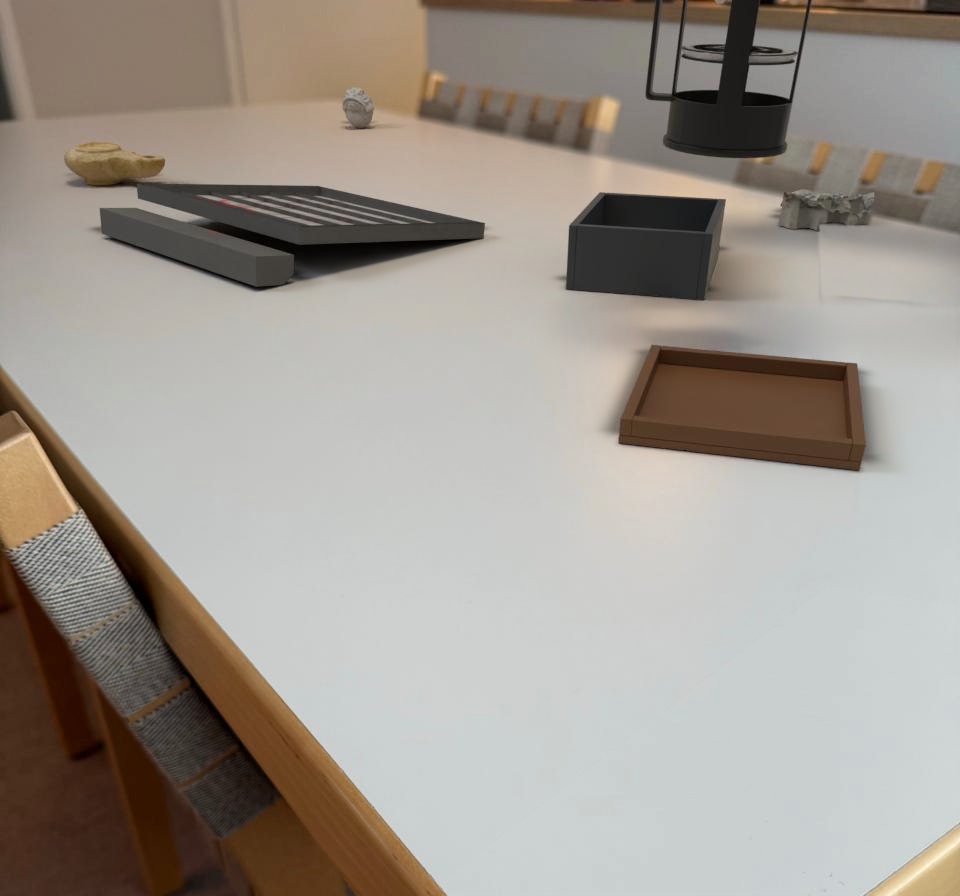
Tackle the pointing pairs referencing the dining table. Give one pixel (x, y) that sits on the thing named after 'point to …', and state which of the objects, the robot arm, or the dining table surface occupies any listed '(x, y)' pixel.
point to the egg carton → (824, 209)
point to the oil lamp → (110, 163)
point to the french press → (727, 92)
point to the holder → (645, 245)
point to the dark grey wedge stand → (270, 225)
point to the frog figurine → (358, 107)
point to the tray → (747, 407)
